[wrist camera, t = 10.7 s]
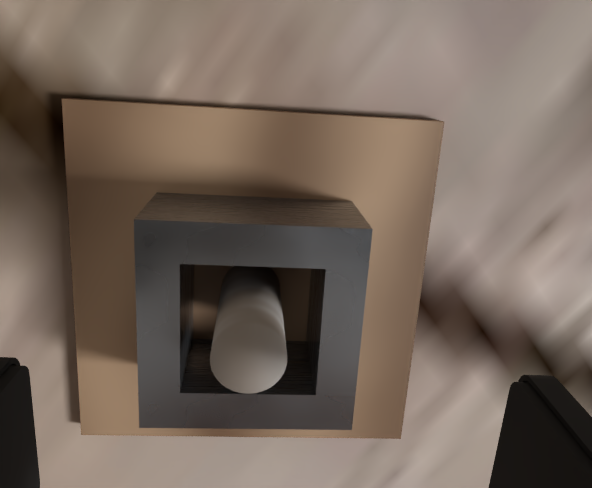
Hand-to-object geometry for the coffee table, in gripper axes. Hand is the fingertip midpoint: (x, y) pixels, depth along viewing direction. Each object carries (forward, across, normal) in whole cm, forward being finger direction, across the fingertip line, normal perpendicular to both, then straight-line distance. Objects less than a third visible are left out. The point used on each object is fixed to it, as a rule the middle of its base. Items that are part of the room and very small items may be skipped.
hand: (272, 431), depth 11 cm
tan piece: (+9, +1, +1) cm, 9 cm away
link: (+9, +1, +1) cm, 9 cm away
